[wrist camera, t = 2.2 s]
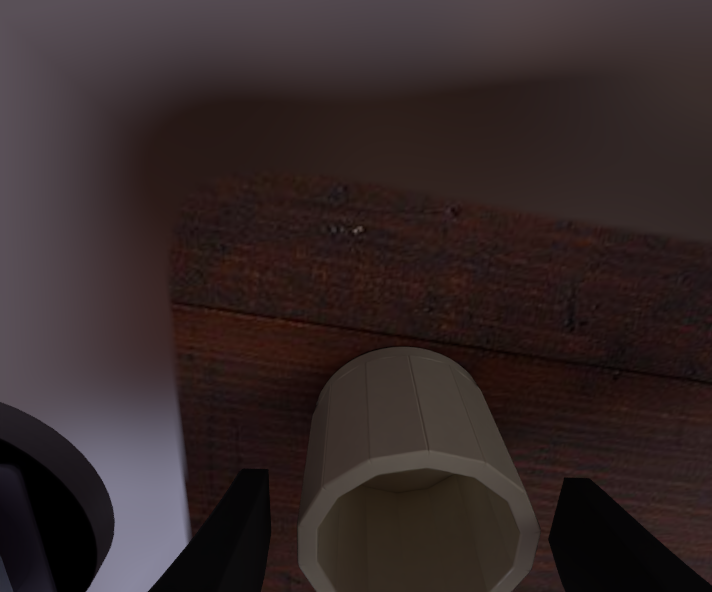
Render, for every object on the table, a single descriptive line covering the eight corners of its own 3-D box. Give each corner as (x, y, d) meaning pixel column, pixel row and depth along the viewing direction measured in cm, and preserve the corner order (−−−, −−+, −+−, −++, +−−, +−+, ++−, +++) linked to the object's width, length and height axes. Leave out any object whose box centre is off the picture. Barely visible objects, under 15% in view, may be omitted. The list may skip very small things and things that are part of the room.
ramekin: (314, 486, 15) (298, 627, 11) (313, 341, 13) (295, 447, 9) (473, 490, 15) (516, 632, 11) (497, 346, 13) (561, 454, 9)
